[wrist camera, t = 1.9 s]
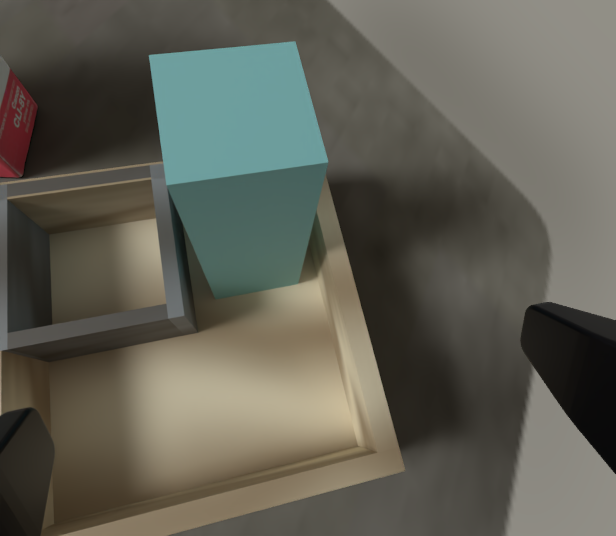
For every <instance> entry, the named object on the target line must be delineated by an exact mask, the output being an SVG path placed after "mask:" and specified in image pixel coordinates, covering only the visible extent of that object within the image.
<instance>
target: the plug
mask: <svg viewBox="0 0 616 536" xmlns="http://www.w3.org/2000/svg"><path fill="white" fill-rule="evenodd" d="M149 59H150V67H151V74H152V82H153V89H154V97H155V104H156V112H157V119H158V127H159V134H160V141H161V149H162V156H163V164H164V171H165V179H166V186H167V188H168V190H169V193H170V195H171V197H172V200H173V202H174V204H175V206H176V209H177V211H178V213H179V216H180V218H181V220H182V223H183V225H184V227H185V230H186V232H187V234H188V237H189V239H190V241H191V244H192V246H193V248H194V251H195V253H196V255H197V258H198V260H199V262H200V265H201V267H202V269H203V272H204V274H205V276H206V279H207V281H208V283H209V285H210V288H211V290H212V292H213V295H214V297H215V299H221V298H227V297H232V296H237V295H243V294H248V293H253V292H259V291H264V290H269V289H275V288H280V287H285V286H291V285H296V284H298V283H299V279H300V275H301V271H302V267H303V263H304V259H305V254H306V250H307V246H308V242H309V238H310V234H311V230H312V226H313V222H314V218H315V214H316V210H317V206H318V202H319V198H320V194H321V190H322V186H323V182H324V178H325V174H326V170H327V166H328V159H327V156H326V152H325V148H324V145H323V141H322V137H321V134H320V130H319V126H318V123H317V119H316V115H315V112H314V108H313V104H312V101H311V97H310V93H309V90H308V86H307V83H306V79H305V75H304V72H303V68H302V64H301V61H300V57H299V53H298V50H297V46H296V42H285V43H274V44H264V45H253V46H242V47H231V48H220V49H210V50H199V51H188V52H177V53H166V54H156V55H149Z"/></svg>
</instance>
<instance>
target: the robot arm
mask: <svg viewBox="0 0 616 536" xmlns="http://www.w3.org/2000/svg"><path fill="white" fill-rule="evenodd" d="M520 341H521V347H522V349H523V352H524V353H525V355H526V356H527V358H528V359H529V361H530V362H531V364H532V365H533V366H534V368H535V369H536V371H537V372H538V374H539V375H540V377H541V378H542V380H543V381H544V383H545V384H546V385H547V387H548V388H549V390H550V391H551V393H552V394H553V396H554V397H555V399H556V400H557V401H558V403H559V404H560V406H561V407H562V409H563V410H564V411H565V413H566V414H567V415H568V417H569V418H570V419H571V421H572V422H573V423H574V425H575V426H576V427H577V428H578V430H579V431H580V432H581V433H582V434H583V436H585V438H586V439H587V440H588V442H589V443H590V444H591V445H592V446H593V448H594V449H595V450H596V451H597V452H598V454H599V455H600V456H601V457H602V458H603V460H604V461H605V462H606V463H607V464H608V466H609V467H610V468H611V469H612V470H613V472H614V473H615V474H616V320H612V319H609V318H605V317H602V316H598V315H595V314H591V313H588V312H584V311H580V310H577V309H573V308H570V307H566V306H563V305H559V304H556V303H552V302H544V303H540V304H535V305H531V306H529V307H528V308H527V310H526V312H525V317H524V322H523V328H522V333H521V340H520ZM54 458H55V446H54V442H53V439H52V437H51V435H50V433H49V431H48V429H47V427H46V425H45V423H44V421H43V419H42V417H41V415H40V413H39V412H38V410H36V409H35V408H32V407H27V408H22V409H17V410H13V411H8V412H6V413H4V414H2V415H1V416H0V536H41V532H42V527H43V521H44V515H45V509H46V504H47V498H48V492H49V487H50V481H51V475H52V469H53V464H54Z"/></svg>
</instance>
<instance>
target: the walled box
mask: <svg viewBox="0 0 616 536" xmlns="http://www.w3.org/2000/svg"><path fill="white" fill-rule="evenodd" d="M27 407H32V408H35V409H36V410H38V412H39V413H40V415H41V417H42V419H43V421H44V423H45V425H46V427H47V429H48V431H49V433H50V435H51V437H52V439H53V442H54V446H55V458H54V464H53V469H52V475H51V481H50V487H49V492H48V498H47V504H46V509H45V515H44V521H43V527H42V532H41V536H167V535H171V534H174V533H178V532H182V531H185V530H189V529H193V528H196V527H200V526H204V525H207V524H211V523H215V522H218V521H222V520H226V519H230V518H233V517H237V516H241V515H244V514H248V513H252V512H255V511H259V510H263V509H266V508H270V507H274V506H278V505H281V504H285V503H289V502H292V501H296V500H300V499H303V498H307V497H311V496H314V495H318V494H322V493H325V492H329V491H333V490H337V489H340V488H344V487H348V486H351V485H355V484H359V483H362V482H366V481H370V480H373V479H377V478H381V477H384V476H388V475H392V474H396V473H399V472H403V471H405V468H404V464H403V460H402V456H401V453H400V449H399V445H398V442H397V438H396V434H395V430H394V427H393V423H392V419H391V415H390V412H389V408H388V404H387V401H386V397H385V393H384V389H383V386H382V382H381V378H380V375H379V371H378V367H377V363H376V360H375V356H374V352H373V348H372V345H371V341H370V337H369V334H368V330H367V326H366V322H365V319H364V315H363V311H362V308H361V304H360V300H359V296H358V293H357V289H356V285H355V281H354V278H353V274H352V270H351V267H350V263H349V259H348V255H347V252H346V248H345V244H344V241H343V237H342V233H341V229H340V226H339V222H338V218H337V214H336V211H335V207H334V203H333V200H332V196H331V192H330V188H329V185H328V181H327V177H326V174H325V178H324V182H323V186H322V190H321V194H320V198H319V202H318V206H317V210H316V214H315V218H314V222H313V226H312V230H311V234H310V238H309V242H308V246H307V250H306V254H305V259H304V263H303V267H302V271H301V275H300V279H299V283H298V284H296V285H291V286H285V287H280V288H275V289H269V290H264V291H259V292H253V293H248V294H243V295H237V296H232V297H227V298H221V299H215V297H214V295H213V292H212V290H211V288H210V285H209V283H208V281H207V279H206V276H205V274H204V272H203V269H202V267H201V265H200V262H199V260H198V258H197V255H196V253H195V251H194V248H193V246H192V244H191V241H190V239H189V237H188V234H187V232H186V230H185V227H184V225H183V223H182V220H181V218H180V216H179V213H178V211H177V209H176V206H175V204H174V202H173V200H172V197H171V195H170V193H169V190H168V188H167V186H166V179H165V171H164V164H163V161H162V162H154V163H147V164H139V165H132V166H124V167H117V168H109V169H102V170H94V171H86V172H79V173H71V174H64V175H56V176H49V177H41V178H34V179H26V180H19V181H11V182H3V183H0V416H1V415H2V414H4V413H6V412H8V411H13V410H17V409H22V408H27Z"/></svg>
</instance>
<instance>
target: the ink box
mask: <svg viewBox="0 0 616 536" xmlns="http://www.w3.org/2000/svg"><path fill="white" fill-rule="evenodd" d="M37 109H38V106H37V104H36V103H35V101H34V100H33V99H32V97H31V96H30V94H29V93H28V92H27V90H26V89H25V88H24V86H23V85H22V84H21V82H20V81H19V80H18V78H17V77H16V76H15V74H14V73H13V72H12V70H11V69H10V67H9V66H8V65H7V63H6V62H5V60H4V59H3V58H2V57H1V55H0V177H16V178H18V177H21V176H23V172H24V164H25V160H26V156H27V152H28V149H29V143H30V139H31V135H32V131H33V127H34V122H35V117H36V113H37Z"/></svg>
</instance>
